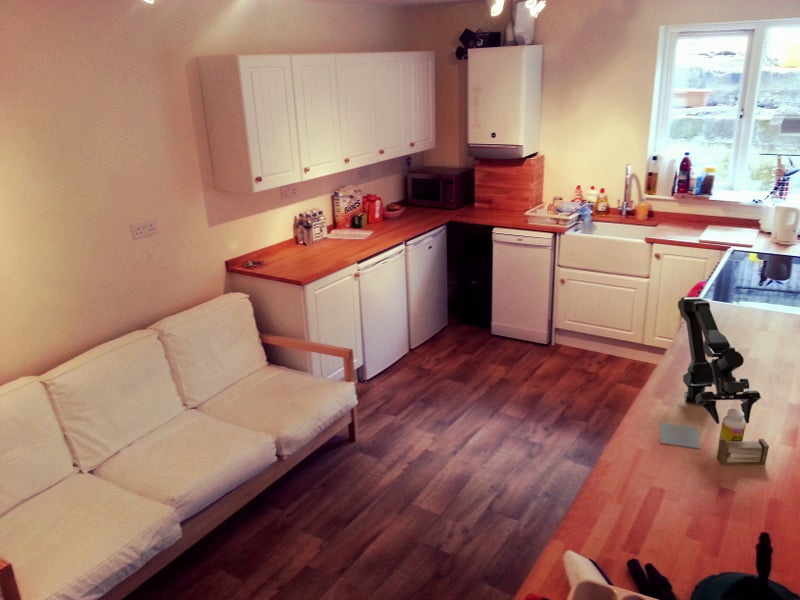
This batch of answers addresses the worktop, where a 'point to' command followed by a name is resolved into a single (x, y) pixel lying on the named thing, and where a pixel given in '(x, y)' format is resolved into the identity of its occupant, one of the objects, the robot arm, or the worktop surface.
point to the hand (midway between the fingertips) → (732, 423)
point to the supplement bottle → (733, 426)
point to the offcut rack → (742, 452)
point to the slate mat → (679, 435)
